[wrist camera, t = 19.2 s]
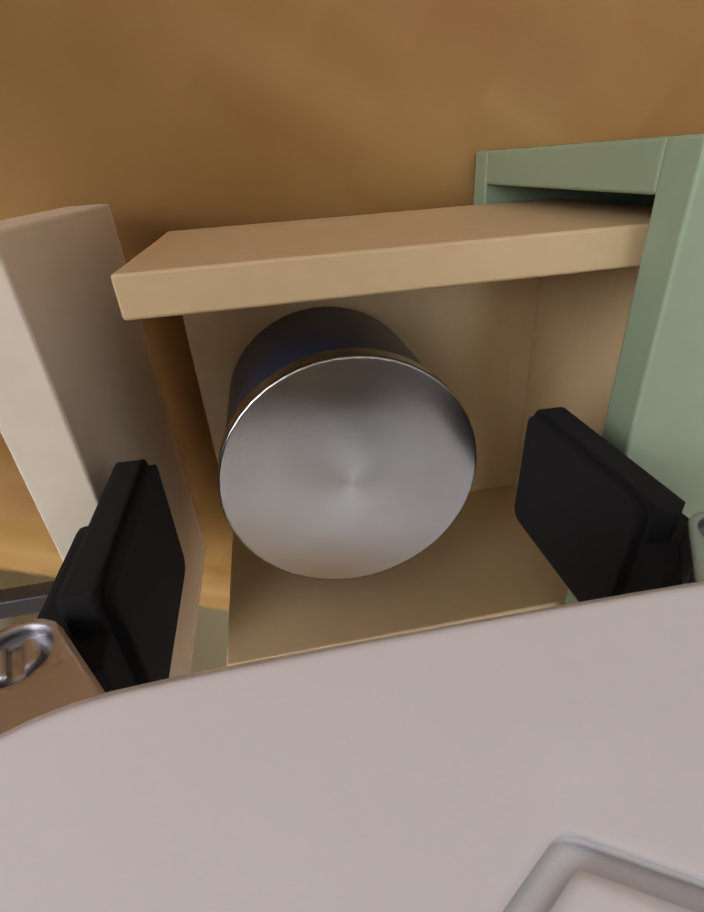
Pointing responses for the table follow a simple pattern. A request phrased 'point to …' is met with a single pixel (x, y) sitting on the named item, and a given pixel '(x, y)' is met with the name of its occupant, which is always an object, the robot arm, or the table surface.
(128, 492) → the robot arm
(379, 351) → the tin
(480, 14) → the table surface
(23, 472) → the drawer
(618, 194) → the cabinet
